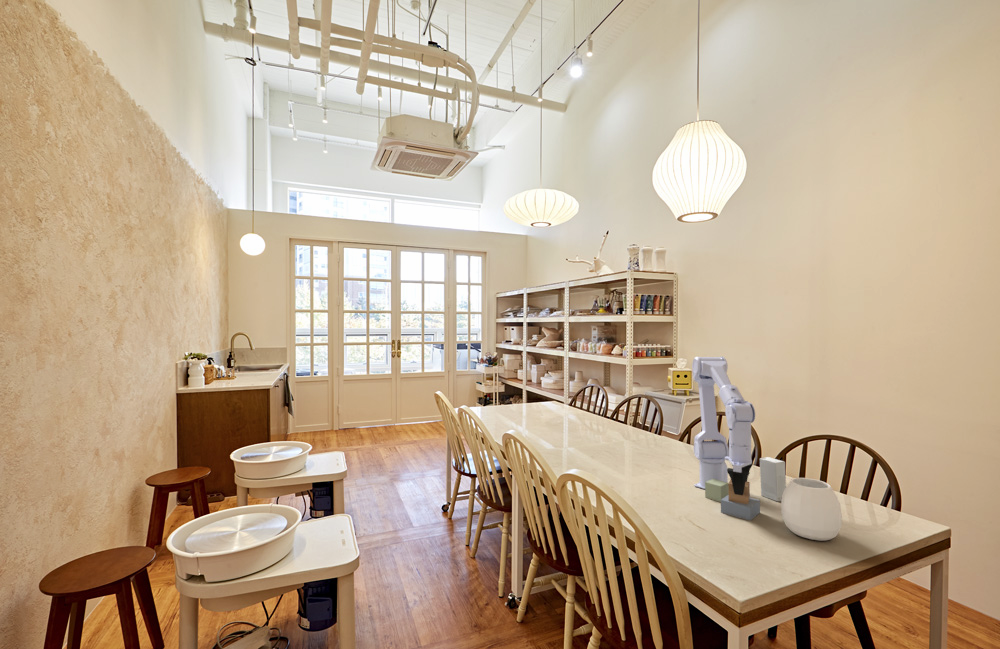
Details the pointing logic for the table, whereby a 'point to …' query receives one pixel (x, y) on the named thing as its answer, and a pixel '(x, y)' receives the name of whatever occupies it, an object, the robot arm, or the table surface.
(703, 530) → the table surface
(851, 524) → the table surface
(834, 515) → the white round vase
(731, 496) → the walnut cube
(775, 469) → the skincare box
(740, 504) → the slate block
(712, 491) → the olive cube
